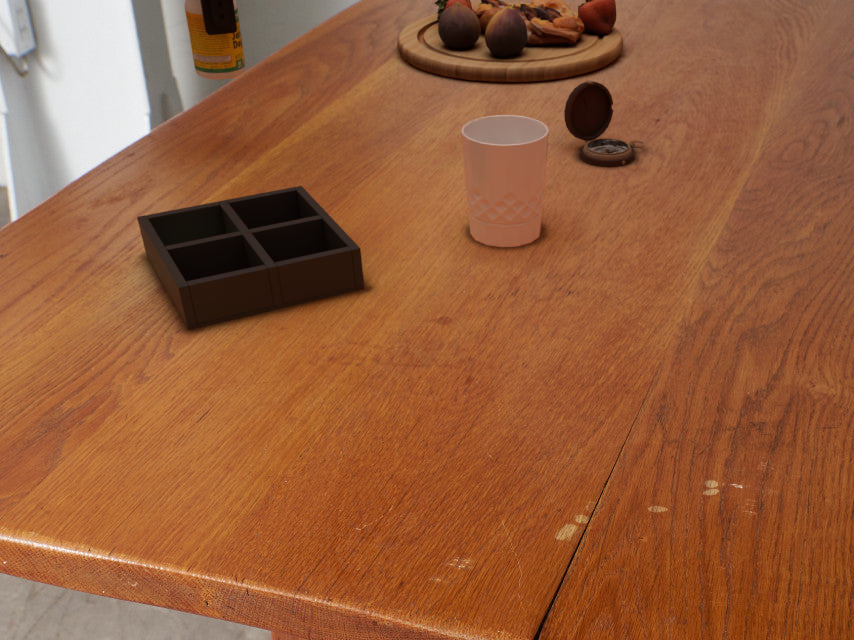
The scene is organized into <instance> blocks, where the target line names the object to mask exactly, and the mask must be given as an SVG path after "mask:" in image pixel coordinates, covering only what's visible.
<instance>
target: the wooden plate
mask: <svg viewBox="0 0 854 640" xmlns="http://www.w3.org/2000/svg"><path fill="white" fill-rule="evenodd" d="M434 5H436V6H435V7H438V8H437V12H436V13H435V14H432V15H428V16H425V17H422V18H420V19H417V20H415V21H413V22H411V23H410V24H408V25H407V26H405V27H404V28H403V29H402V30H401V31H400V32H399V35H398V37H397V40H396V41H397V43H396V46H397V47H396V48H397V50H398V52H399V54H400V56H401V57H402V59H404V60H405V61H406V62H407V63H409V64H410V65H412V66H414V67H416V68H417V69H419V70H422V71H425V72H428V73H431V74H434V75H439V76H443V77H448V78H449V77H450V78H455V79H461V80H468V81H477V82H478V81H479V82H490V83H491V82H492V83H494V82H495V83H526V82H544V81H553V80H559V79H565V78H570V77H574V76H579V75H584V74H587V73H590V72H594V71H596V70H599V69H602V68H604V67H606V66H608V65H609V64H611V63H612V62H614V61H616V59H617V58H618V57H619V56H620V54H621V53H622V51H623V47H624V38H623V36H622V32H620V30H619V29H618V28H617V27H616V26H615V24H616V22H617V3H616V0H585V2H583V3H581V4H580V5H577V11H573V10H572V9H571V7H570V6H569V4H568V3H566V2H565V1H564V0H531V1H530V2H523V1H521V2H517V3H514V2H506V1H502V0H480V2H478V3H476V4H475V5H474V7H473V5H472V1H471V0H437V1H435V2H434Z"/></svg>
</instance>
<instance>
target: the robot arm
mask: <svg viewBox="0 0 854 640" xmlns="http://www.w3.org/2000/svg"><path fill="white" fill-rule="evenodd" d="M200 1H201V7H202V14H203V20H204V26H205V31H206V33H207V34H208V35H219V34H228V33H235V32H236V31H237V24H236V17H235V10H234V3H233V0H200Z"/></svg>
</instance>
